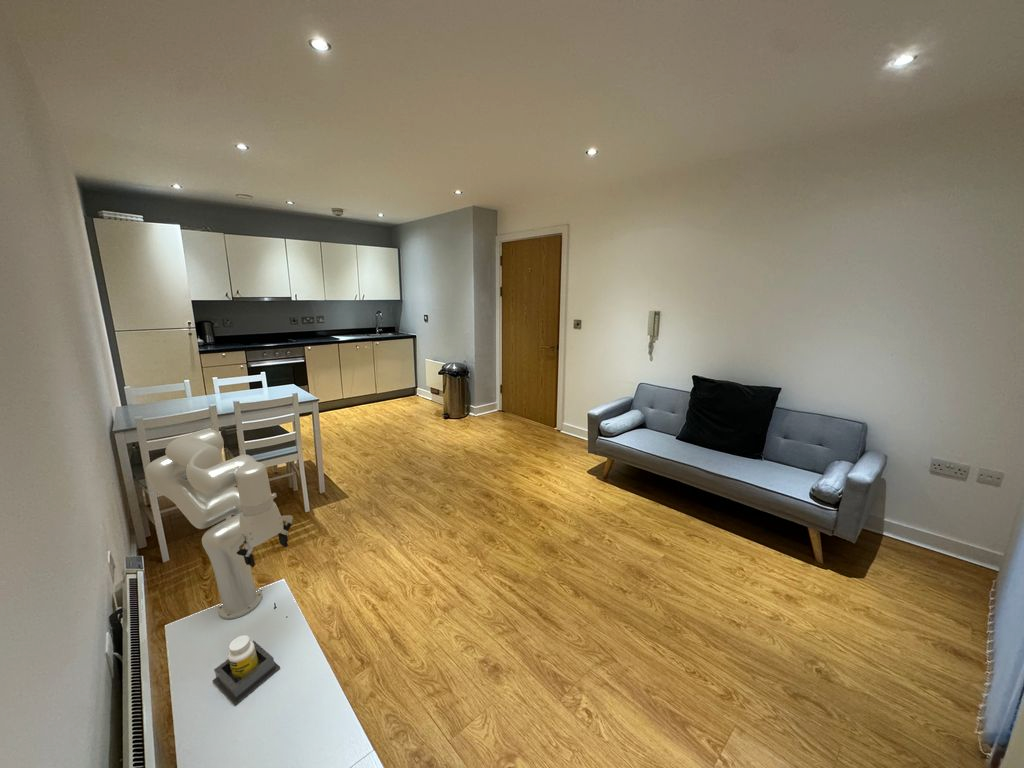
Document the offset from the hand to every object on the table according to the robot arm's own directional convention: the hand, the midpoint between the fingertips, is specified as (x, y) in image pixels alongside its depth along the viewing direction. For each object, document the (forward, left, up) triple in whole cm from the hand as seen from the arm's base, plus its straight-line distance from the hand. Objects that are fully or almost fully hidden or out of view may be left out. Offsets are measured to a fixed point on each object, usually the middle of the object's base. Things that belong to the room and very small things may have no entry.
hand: (268, 554), depth 120 cm
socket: (+6, -14, -28) cm, 32 cm away
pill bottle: (+6, -14, -28) cm, 32 cm away
